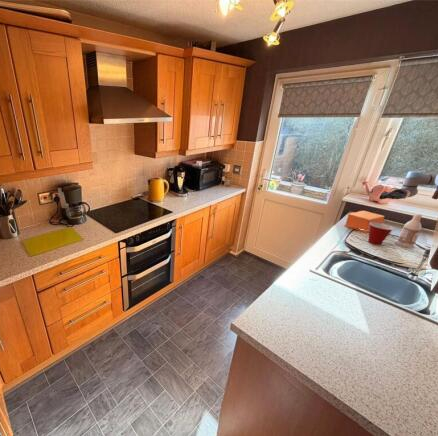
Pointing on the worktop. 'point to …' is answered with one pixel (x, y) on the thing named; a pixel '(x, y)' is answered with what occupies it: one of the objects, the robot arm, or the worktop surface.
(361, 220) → the box
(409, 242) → the bath foam
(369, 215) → the lid
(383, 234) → the plastic cup
